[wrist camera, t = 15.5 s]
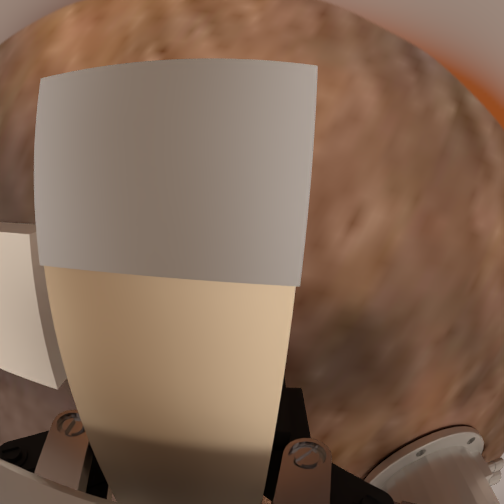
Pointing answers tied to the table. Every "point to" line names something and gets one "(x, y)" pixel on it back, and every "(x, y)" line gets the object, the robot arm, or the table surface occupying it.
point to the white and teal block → (26, 310)
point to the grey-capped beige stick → (176, 263)
